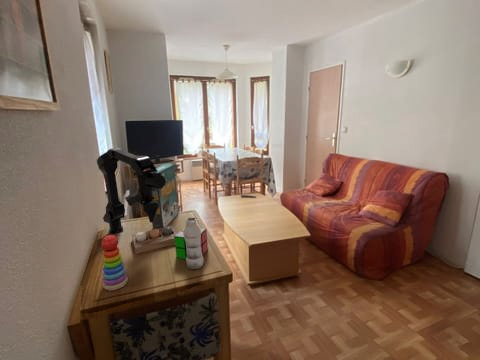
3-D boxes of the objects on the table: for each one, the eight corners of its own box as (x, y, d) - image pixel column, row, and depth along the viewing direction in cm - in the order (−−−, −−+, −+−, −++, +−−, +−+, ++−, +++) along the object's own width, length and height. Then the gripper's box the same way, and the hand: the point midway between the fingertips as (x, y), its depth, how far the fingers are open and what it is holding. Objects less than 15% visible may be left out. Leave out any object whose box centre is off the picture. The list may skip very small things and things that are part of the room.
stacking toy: (112, 294, 85) (102, 244, 80) (98, 286, 89) (89, 238, 85) (132, 281, 92) (125, 234, 87) (119, 274, 96) (111, 229, 91)
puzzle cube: (208, 249, 112) (206, 228, 109) (197, 261, 103) (195, 239, 100) (188, 246, 115) (186, 225, 113) (176, 257, 106) (173, 236, 103)
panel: (132, 240, 122) (131, 234, 121) (172, 231, 130) (171, 225, 129) (135, 253, 110) (135, 247, 109) (179, 242, 118) (178, 236, 117)
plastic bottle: (200, 272, 96) (196, 223, 90) (183, 270, 97) (179, 222, 92) (206, 262, 102) (202, 216, 97) (190, 261, 103) (186, 215, 98)
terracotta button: (149, 236, 120) (149, 230, 119) (159, 234, 122) (158, 228, 121) (151, 240, 117) (150, 233, 116) (160, 238, 118) (159, 231, 118)
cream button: (136, 239, 118) (135, 233, 117) (145, 237, 119) (145, 231, 119) (137, 243, 114) (136, 237, 113) (147, 241, 116) (146, 234, 115)
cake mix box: (169, 212, 155) (164, 164, 147) (178, 212, 154) (174, 164, 146) (152, 228, 134) (145, 172, 126) (163, 228, 133) (157, 173, 125)
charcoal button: (162, 233, 123) (162, 227, 122) (171, 231, 125) (170, 225, 124) (164, 237, 119) (163, 230, 118) (173, 234, 121) (172, 228, 120)
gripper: (122, 183, 116) (127, 215, 120) (127, 194, 100) (133, 230, 104) (148, 180, 121) (152, 210, 125) (156, 189, 105) (161, 224, 109)
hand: (149, 218), depth 116 cm, fingers open, 9 cm apart
